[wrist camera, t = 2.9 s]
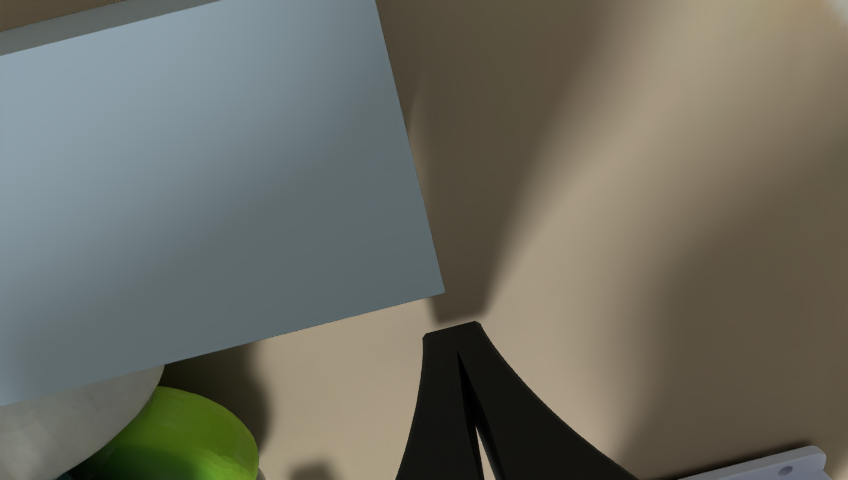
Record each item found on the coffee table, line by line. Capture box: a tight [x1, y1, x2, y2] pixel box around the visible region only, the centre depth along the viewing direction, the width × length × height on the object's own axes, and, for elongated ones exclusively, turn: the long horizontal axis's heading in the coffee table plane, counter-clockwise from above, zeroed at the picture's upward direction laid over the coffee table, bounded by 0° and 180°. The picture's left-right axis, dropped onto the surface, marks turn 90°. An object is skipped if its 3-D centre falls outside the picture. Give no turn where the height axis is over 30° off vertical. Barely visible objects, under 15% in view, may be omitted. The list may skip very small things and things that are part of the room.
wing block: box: [0, 0, 445, 406], centre depth 8 cm, size 8×4×5 cm, turn 102°
